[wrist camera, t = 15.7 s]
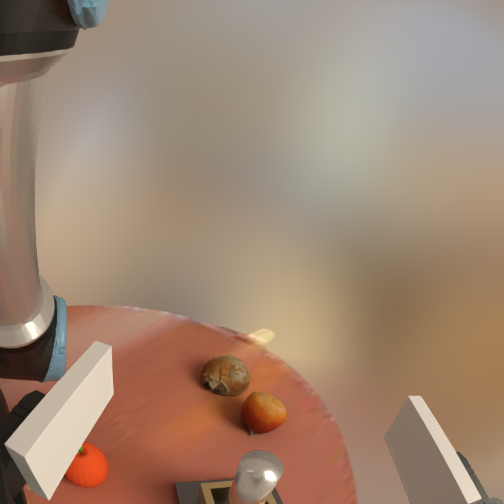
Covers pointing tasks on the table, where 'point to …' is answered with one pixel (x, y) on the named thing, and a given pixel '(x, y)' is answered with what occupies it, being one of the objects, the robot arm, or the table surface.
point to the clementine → (88, 466)
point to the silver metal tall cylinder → (255, 478)
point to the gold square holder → (211, 492)
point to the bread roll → (226, 376)
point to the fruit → (262, 413)
